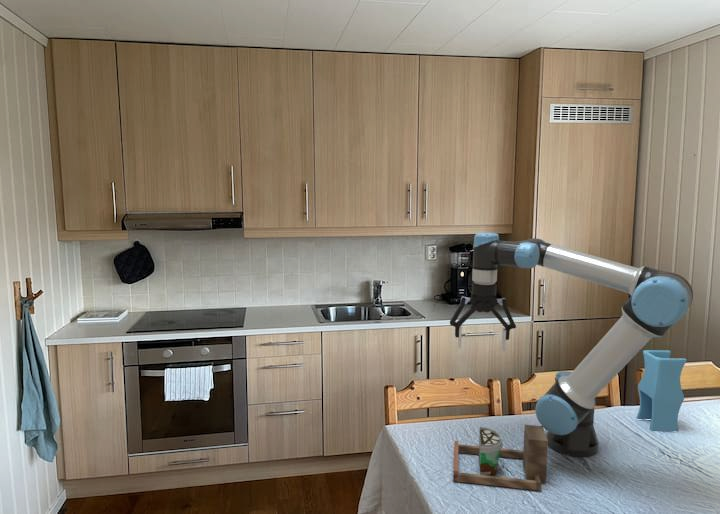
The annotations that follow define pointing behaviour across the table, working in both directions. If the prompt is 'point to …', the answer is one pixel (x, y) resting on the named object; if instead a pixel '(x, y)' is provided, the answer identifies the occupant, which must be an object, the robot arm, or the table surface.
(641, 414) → the blue wavy channel stand
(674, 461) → the table surface
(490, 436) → the food container
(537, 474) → the walnut bed frame
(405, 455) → the table surface
